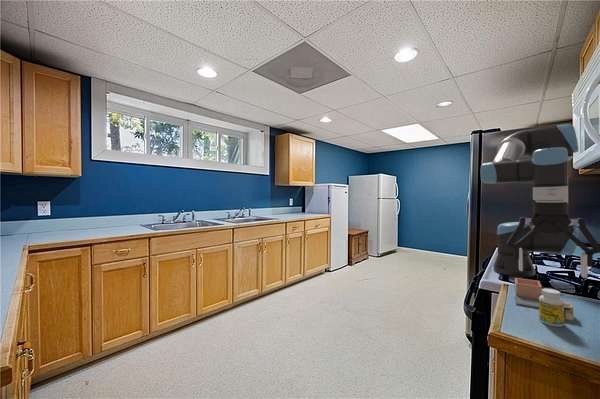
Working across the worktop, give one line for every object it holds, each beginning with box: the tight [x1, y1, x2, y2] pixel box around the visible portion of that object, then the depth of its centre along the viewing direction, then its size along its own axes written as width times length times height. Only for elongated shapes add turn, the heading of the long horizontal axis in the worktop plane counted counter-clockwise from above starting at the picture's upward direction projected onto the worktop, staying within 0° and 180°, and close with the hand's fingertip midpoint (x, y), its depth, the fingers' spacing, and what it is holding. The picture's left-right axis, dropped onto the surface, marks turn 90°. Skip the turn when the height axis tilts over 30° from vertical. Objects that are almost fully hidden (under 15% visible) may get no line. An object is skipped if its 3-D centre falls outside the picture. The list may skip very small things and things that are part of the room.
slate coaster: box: [514, 295, 539, 310], centre depth 91 cm, size 7×7×1 cm
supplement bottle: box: [538, 287, 565, 328], centre depth 78 cm, size 5×5×10 cm
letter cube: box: [564, 301, 574, 321], centre depth 81 cm, size 4×4×4 cm
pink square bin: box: [514, 277, 543, 300], centre depth 97 cm, size 7×7×5 cm
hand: (550, 273), depth 77 cm, fingers open, 13 cm apart
